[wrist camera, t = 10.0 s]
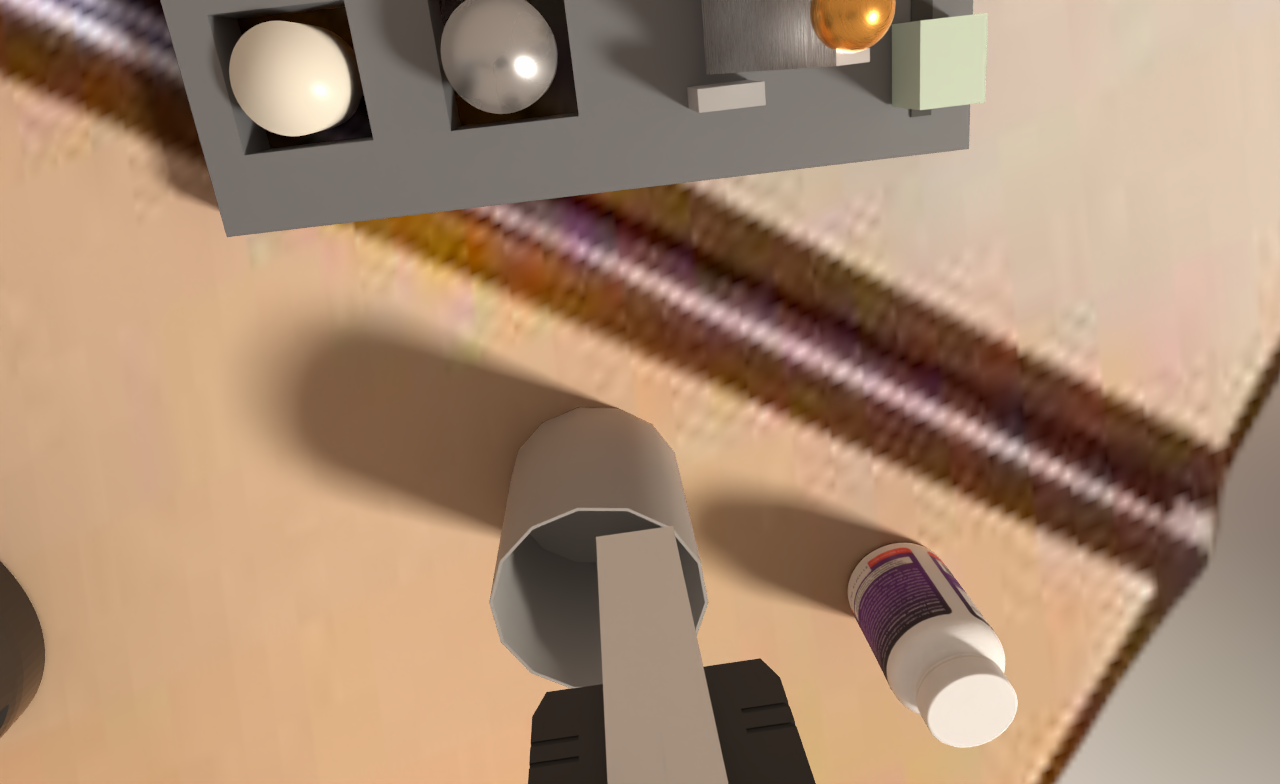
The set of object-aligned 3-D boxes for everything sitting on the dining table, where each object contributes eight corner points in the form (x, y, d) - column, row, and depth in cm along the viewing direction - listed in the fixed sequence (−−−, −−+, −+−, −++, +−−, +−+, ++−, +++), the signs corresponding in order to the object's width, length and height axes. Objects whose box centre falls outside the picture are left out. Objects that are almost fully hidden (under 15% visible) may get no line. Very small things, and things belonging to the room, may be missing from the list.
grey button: (464, 114, 34) (452, 120, 31) (445, 5, 33) (430, -2, 30) (564, 103, 34) (563, 107, 31) (550, -7, 33) (546, -15, 30)
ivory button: (276, 135, 36) (245, 142, 32) (250, 30, 34) (215, 27, 31) (373, 123, 36) (352, 129, 32) (351, 19, 34) (327, 14, 31)
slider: (891, 106, 34) (919, 110, 31) (891, 24, 33) (920, 20, 30) (951, 99, 34) (984, 102, 31) (953, 17, 33) (987, 12, 30)
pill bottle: (833, 620, 46) (894, 755, 37) (860, 532, 45) (931, 652, 35) (928, 631, 47) (1010, 767, 38) (958, 546, 45) (1053, 667, 36)
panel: (253, 224, 37) (193, 253, 31) (177, -61, 33) (91, -88, 27) (940, 142, 38) (1005, 156, 32) (944, -148, 34) (1019, -191, 28)
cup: (493, 423, 41) (467, 528, 32) (663, 390, 41) (686, 486, 32) (533, 572, 44) (520, 708, 35) (691, 542, 44) (720, 670, 35)
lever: (692, 76, 32) (844, 66, 24) (685, -13, 31) (842, -53, 23) (748, 69, 33) (913, 57, 25) (743, -18, 32) (914, -59, 24)
